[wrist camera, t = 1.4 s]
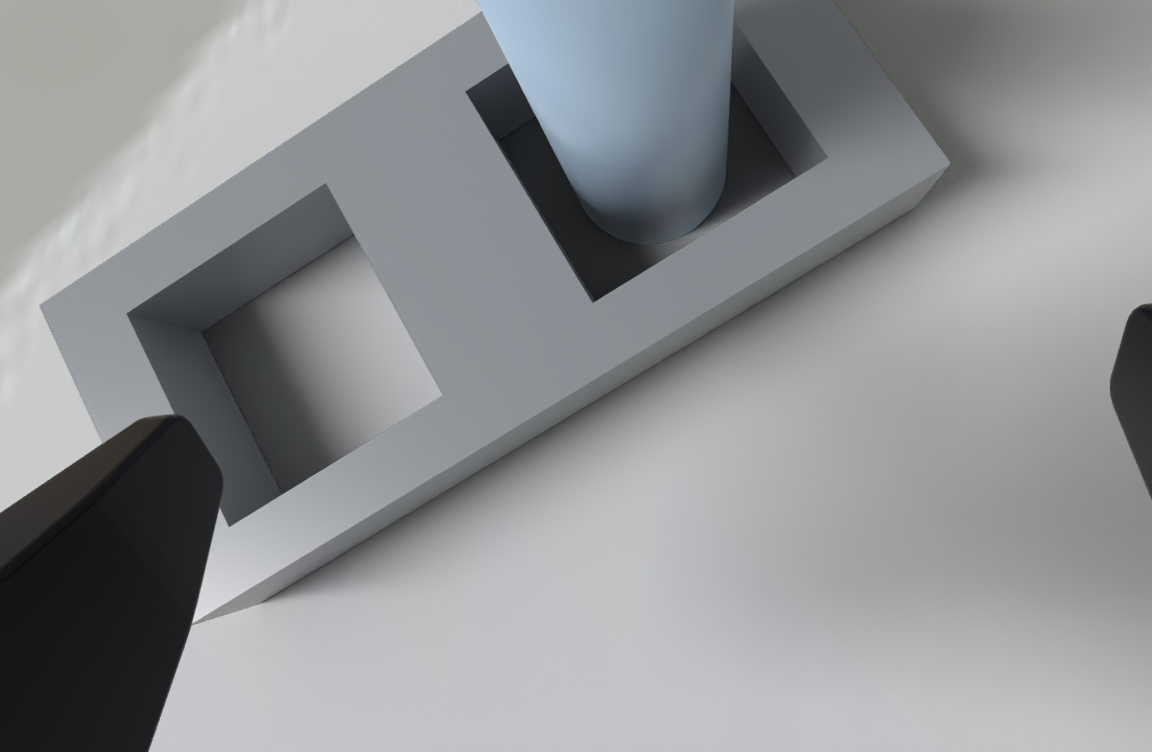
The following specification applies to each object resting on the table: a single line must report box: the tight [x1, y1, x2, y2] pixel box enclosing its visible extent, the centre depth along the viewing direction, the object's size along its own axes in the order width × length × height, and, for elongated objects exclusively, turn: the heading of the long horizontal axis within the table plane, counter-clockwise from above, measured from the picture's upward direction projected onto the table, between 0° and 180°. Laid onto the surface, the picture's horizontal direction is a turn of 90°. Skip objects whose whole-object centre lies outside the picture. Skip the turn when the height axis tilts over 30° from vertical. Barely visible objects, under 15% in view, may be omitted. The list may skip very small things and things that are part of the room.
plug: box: [476, 0, 734, 244], centre depth 15 cm, size 4×4×12 cm
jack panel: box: [39, 0, 951, 625], centre depth 20 cm, size 20×9×3 cm, turn 120°
